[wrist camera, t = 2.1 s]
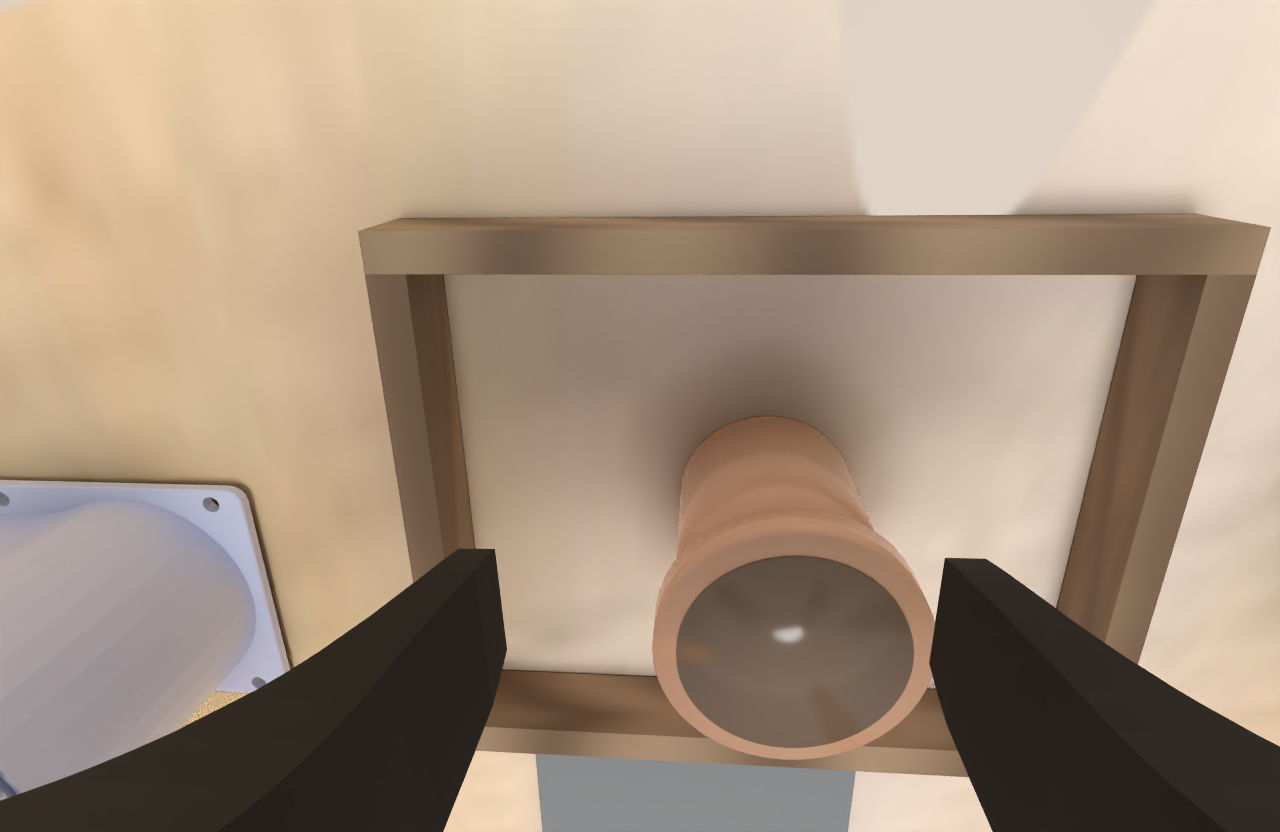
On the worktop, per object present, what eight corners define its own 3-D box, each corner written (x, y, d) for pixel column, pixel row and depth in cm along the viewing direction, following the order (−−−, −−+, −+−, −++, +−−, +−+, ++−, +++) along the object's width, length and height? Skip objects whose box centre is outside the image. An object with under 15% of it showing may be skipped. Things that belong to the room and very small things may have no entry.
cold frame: (463, 691, 25) (439, 748, 23) (399, 218, 19) (358, 231, 17) (1062, 719, 24) (1101, 784, 21) (1196, 214, 18) (1270, 227, 15)
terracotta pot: (667, 573, 23) (652, 758, 16) (667, 401, 21) (650, 533, 14) (855, 579, 22) (919, 771, 16) (875, 404, 20) (960, 541, 13)
